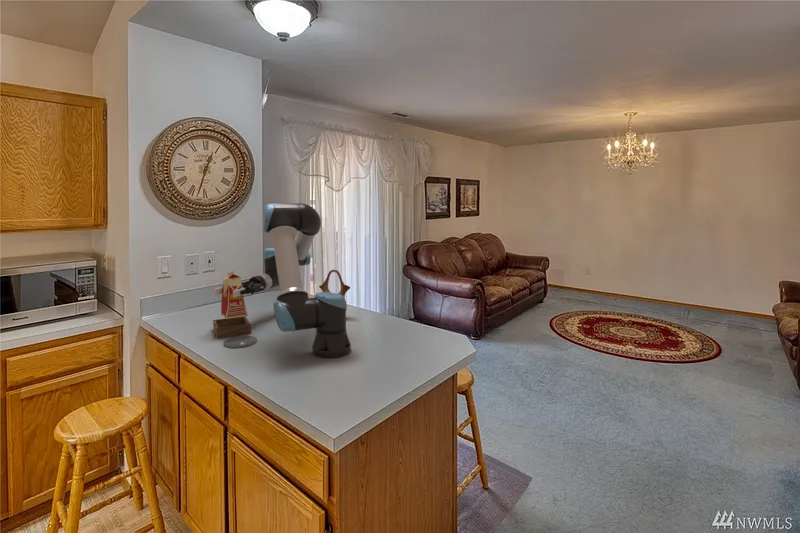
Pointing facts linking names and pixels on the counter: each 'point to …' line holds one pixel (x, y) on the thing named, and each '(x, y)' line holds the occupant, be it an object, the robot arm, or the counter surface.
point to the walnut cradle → (231, 327)
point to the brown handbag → (343, 287)
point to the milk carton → (232, 298)
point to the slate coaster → (240, 341)
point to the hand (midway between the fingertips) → (224, 293)
